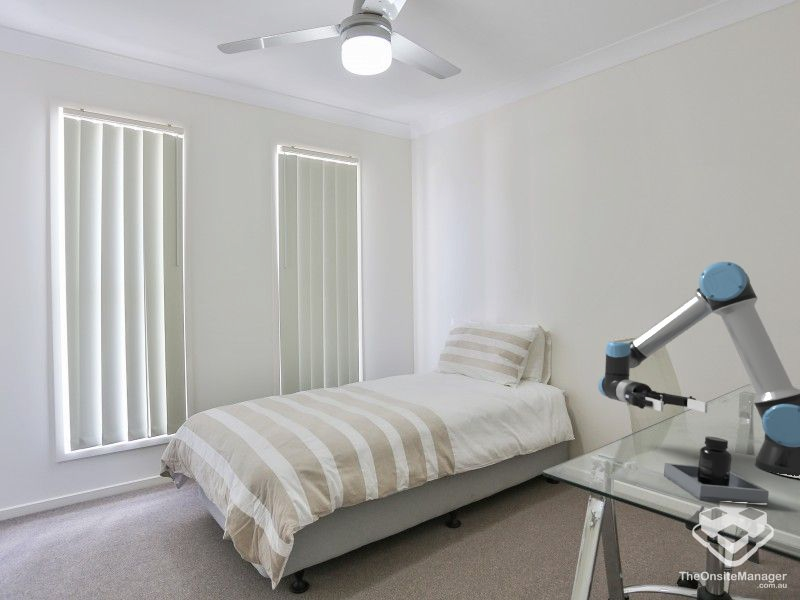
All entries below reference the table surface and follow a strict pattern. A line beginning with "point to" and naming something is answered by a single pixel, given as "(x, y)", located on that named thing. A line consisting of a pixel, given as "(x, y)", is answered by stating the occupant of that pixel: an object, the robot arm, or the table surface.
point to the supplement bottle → (714, 462)
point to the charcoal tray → (715, 486)
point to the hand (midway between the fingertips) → (684, 407)
